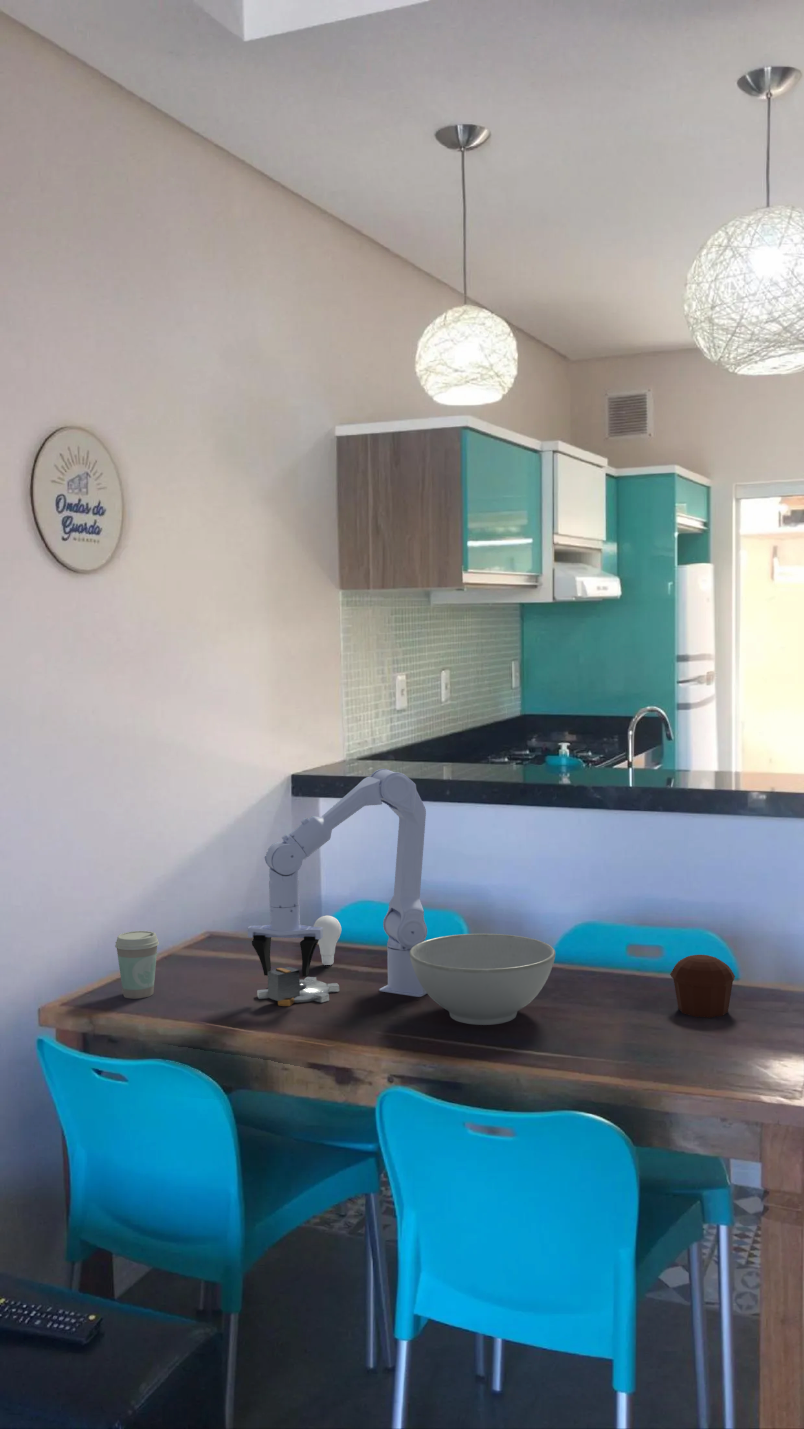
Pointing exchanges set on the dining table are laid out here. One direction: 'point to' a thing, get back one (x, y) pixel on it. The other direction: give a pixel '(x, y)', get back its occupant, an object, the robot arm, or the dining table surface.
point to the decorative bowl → (482, 974)
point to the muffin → (702, 985)
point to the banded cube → (283, 983)
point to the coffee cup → (137, 962)
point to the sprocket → (306, 992)
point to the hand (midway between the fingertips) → (286, 974)
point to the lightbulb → (328, 937)
